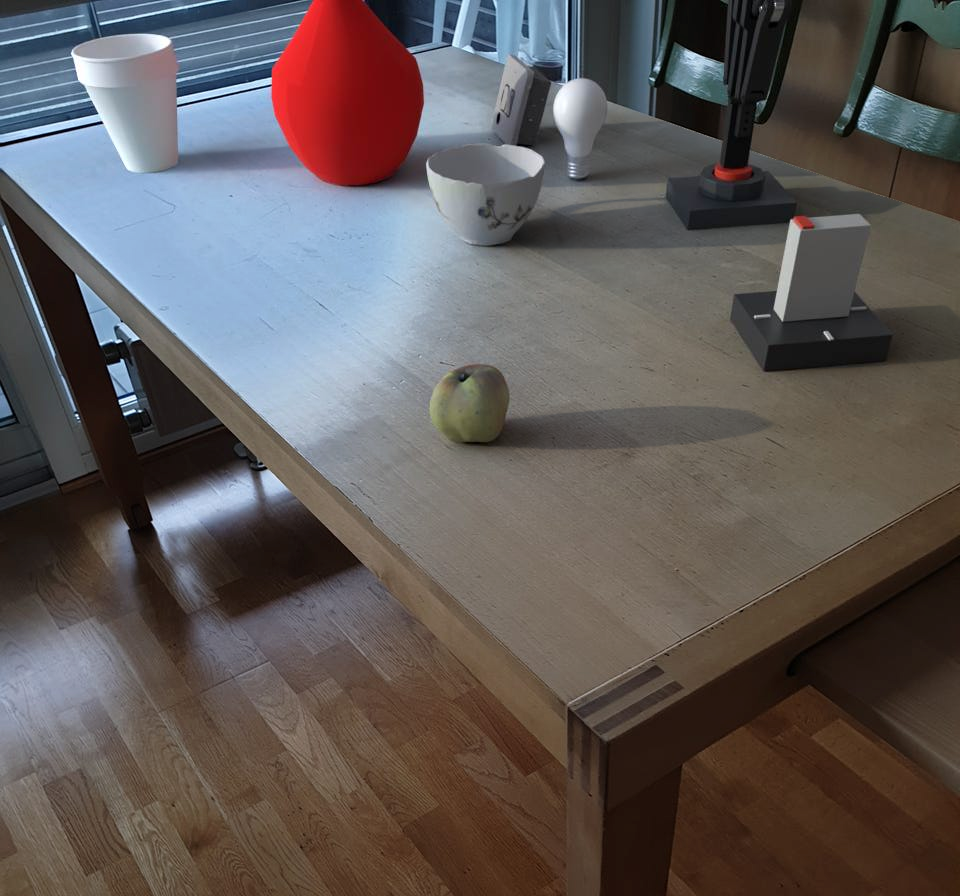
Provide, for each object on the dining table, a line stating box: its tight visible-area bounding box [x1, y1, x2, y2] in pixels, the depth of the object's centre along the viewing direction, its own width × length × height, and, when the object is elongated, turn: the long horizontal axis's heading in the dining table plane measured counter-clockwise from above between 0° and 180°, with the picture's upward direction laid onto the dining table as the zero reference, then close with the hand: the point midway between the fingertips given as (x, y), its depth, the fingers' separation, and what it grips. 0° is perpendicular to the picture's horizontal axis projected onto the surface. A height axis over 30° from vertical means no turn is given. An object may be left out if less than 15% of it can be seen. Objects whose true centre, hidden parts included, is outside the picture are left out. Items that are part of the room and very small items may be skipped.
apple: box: [428, 363, 511, 443], centre depth 76 cm, size 6×8×6 cm
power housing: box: [665, 162, 798, 232], centre depth 108 cm, size 12×10×4 cm
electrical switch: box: [491, 54, 552, 147], centre depth 127 cm, size 9×5×9 cm, turn 15°
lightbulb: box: [552, 77, 608, 181], centre depth 114 cm, size 6×6×11 cm
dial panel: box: [729, 290, 893, 372], centre depth 87 cm, size 11×10×3 cm
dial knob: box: [774, 213, 872, 322], centre depth 83 cm, size 6×2×8 cm, turn 96°
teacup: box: [425, 143, 546, 247], centre depth 105 cm, size 15×12×8 cm
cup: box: [70, 33, 180, 174], centre depth 123 cm, size 12×12×14 cm
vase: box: [270, 0, 425, 186], centre depth 112 cm, size 18×18×30 cm
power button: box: [714, 162, 752, 181], centre depth 107 cm, size 4×4×2 cm
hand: (733, 164), depth 107 cm, fingers closed
